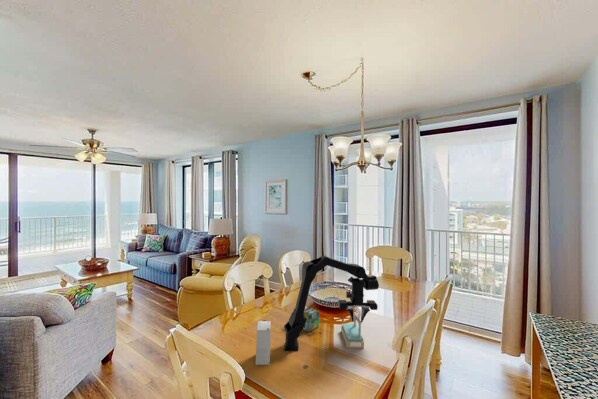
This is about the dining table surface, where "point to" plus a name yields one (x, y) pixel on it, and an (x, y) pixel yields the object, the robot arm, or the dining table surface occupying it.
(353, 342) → the carton
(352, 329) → the lid flap
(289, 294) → the dining table surface
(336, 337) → the dining table surface
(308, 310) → the chalk box
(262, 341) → the skincare box
